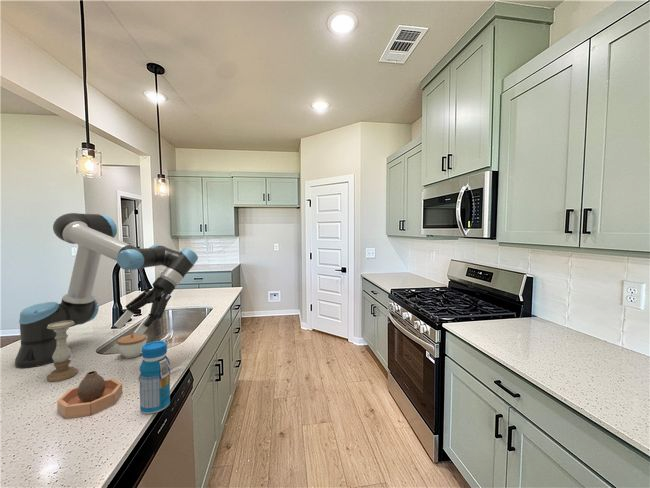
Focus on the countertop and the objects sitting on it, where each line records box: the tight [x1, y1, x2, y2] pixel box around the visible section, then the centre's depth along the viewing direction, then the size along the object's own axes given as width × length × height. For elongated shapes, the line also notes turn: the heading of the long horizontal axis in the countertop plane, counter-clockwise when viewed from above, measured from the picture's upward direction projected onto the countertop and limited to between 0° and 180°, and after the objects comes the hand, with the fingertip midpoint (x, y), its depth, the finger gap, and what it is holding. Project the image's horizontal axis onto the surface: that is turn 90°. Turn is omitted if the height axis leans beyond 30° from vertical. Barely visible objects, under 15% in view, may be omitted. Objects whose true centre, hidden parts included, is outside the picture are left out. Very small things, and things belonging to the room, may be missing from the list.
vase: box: [77, 370, 105, 403], centre depth 91 cm, size 7×7×9 cm
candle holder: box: [46, 321, 79, 383], centre depth 107 cm, size 9×9×20 cm
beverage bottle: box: [138, 340, 171, 415], centre depth 89 cm, size 8×8×20 cm
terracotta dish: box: [56, 378, 123, 419], centre depth 91 cm, size 15×15×4 cm
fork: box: [170, 358, 192, 375], centre depth 110 cm, size 3×20×2 cm, turn 162°
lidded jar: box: [116, 333, 147, 359], centre depth 126 cm, size 11×11×9 cm
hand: (126, 330), depth 100 cm, fingers open, 13 cm apart
